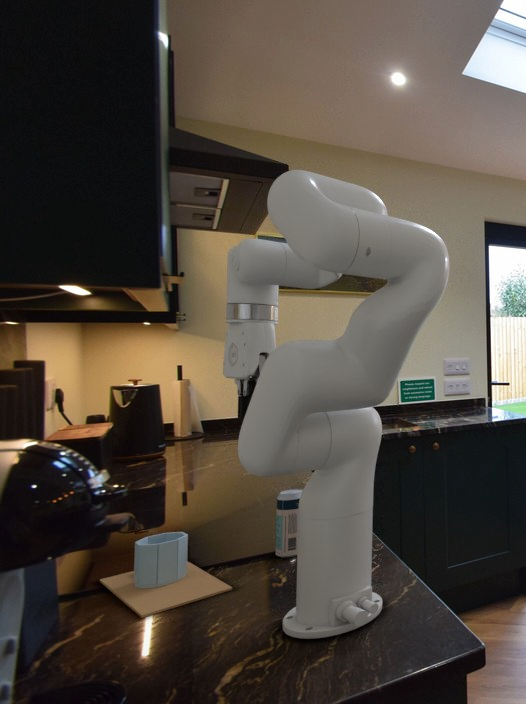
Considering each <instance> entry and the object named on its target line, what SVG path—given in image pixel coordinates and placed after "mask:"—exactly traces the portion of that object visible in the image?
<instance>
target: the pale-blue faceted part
mask: <svg viewBox="0 0 526 704" xmlns="http://www.w3.org/2000/svg"><path fill="white" fill-rule="evenodd" d="M188 543H189V534H188V533H186V532H184V531H176V532H175V531H172V532H171V531H170V532H162V533H158V534H153V535H148V536H145V537H143V538H141V539H139V540H136V541H135V542H134V560H133V561H134V563H133V571H134V583H135V586H136V587H137V588H154V587H160V586H164V585H168V584H171V583H174V582H176V581H179V580H181V579H182V578H184V577H185V574H186V573H187V561H188V549H189V548H188V546H189V544H188Z"/></svg>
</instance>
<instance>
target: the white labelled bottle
mask: <svg viewBox="0 0 526 704" xmlns="http://www.w3.org/2000/svg"><path fill="white" fill-rule="evenodd" d="M303 489H304V488H292V489H286V490H282V491H280V492H279V493H278V495H277V497H276V520H275V521H276V523H275V555H276V556H277V557H280V558H282V559H283V558H284V559H285V558H287V559H288V558H293V557H297V546H298V509H299V500H300V497H301V494H302V491H303Z"/></svg>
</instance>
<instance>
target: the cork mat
mask: <svg viewBox="0 0 526 704" xmlns="http://www.w3.org/2000/svg"><path fill="white" fill-rule="evenodd" d="M99 583H101V584H102V585H103V586H104V587H105V588H106V589H107V590H109V591H110V592H111V593H112V594H113V595H114V596H115V597H117V599H119V600H120V601H121V602H122V603H123V604H125V605H126V606H127V607H129V609H131V610H132V611H133V612H134V613H136V615H138V616H139V617H140V618H141V619H143V618H147V617H149V616H152V615H155V614H159V613H162V612H165V611H168V610H173V609H175V608H178V607H181V606H185V605H189V604H191V603H194V602H198V601H201V600H205V599H207V598H211V597H213V596H217V595H221V594H224V593H226V592H229V591H232V590H233V587H232V586H231V585H229V584H228V583H226V582H224V581H222V580H221V579H218V578H217V577H215V576H214V575H212V574H210V573H209V572H207V571H205V570H203V569H202V568H200V567H198V566H197V565H195V564H193V563H192V562H190V561H188V560H187V573H186V574H185V577H184V578H182V579H181V580H179V581H176V582H174V583H171V584H168V585H164V586H160V587H154V588H137V587H136V586H135V583H134V570H132V571H128V572H124V573H120V574H117V575H112V576H108V577H103V578H100V579H99Z"/></svg>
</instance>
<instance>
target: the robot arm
mask: <svg viewBox="0 0 526 704" xmlns="http://www.w3.org/2000/svg"><path fill="white" fill-rule="evenodd" d="M266 200H267V201H266V202H267V203H266V208H267V213H268V216H269V219H270V220H271V223H272V225H273V226H274V227H275V229H276V230H277V232H278V233H279V234H280V235H281V236H282V237H283V238H284V239H285V241H286V242H281V241H275V240H270V239H269V240H268V239H262V238H250V237H249V238H245V239H242V240H241V241H240V242H239V243H238V244H237V245H234V246H232V247H230V248H229V249H228V252H227V261H226V301H225V302H226V305H225V306H226V307H225V323H226V324H228V325H227V328H226V334H225V339H224V340H225V342H224V351H223V363H222V375H223V377H224V378H227V379H233V380H234V384H235V385H236V388H237V390H236V391H237V419H241V420H243V421H242V424H241V426H240V430H239V433H238V440H237V456H238V460H239V463H240V465H241V466H242V469H244V471H246V472H247V473H249V474H250V475H252V476H255V477H261V478H271V477H272V478H273V477H280V476H281V477H282V476H287V475H294V474H299V473H304V472H305V473H306V472H312V471H313V473H312V474H311V476H310V478H308V481H307V482H306V484H305V485H304V488H302V489H303V491H302V494H301V497H300V500H299V509H298V546H297V556H296V593H295V594H296V597H295V606H294V607H293V608H292V609H290V610H289V611H288V612H287V613H286V614H285V615H284V617H283V618H282V631H283V632H284V634H285V635H287V636H288V637H289V636H290V637H292V638H295V639H303V640H315V639H322V638H329V637H335V636H339V635H343V634H345V633H348V632H351V631H354V630H356V629H359V628H360V627H361V628H362V627H363V626H365V625H367V624H368V623H370V622H372V621H373V620H374V619H376V618H377V617H378V616H379V615H380V613H381V611H382V609H383V598H382V596H381V595H380V594H378V593H376V592H373V586H372V575H373V574H372V572H373V571H372V568H373V566H372V565H373V563H372V562H373V518H374V517H373V516H374V512H373V511H374V489H375V488H374V487H375V484H374V483H375V475H376V474H375V472H376V464H377V460H378V456H379V455H378V454H379V451H380V446H381V442H382V435H383V434H382V433H383V424H382V418H381V417H380V414H379V412H378V411H377V410H376V409H375V407H376V406H379V405H381V404H383V403H384V402H385V401H386V400H387V399H388V397H389V396H390V394H391V392H392V391H393V389H394V387H395V385H396V383H397V381H398V378H399V377H400V374H401V372H402V370H403V368H404V366H405V364H406V361H407V360H408V357H409V356H410V353H411V351H412V349H413V346H414V344H415V341H416V339H417V337H418V336H419V334H420V332H421V330H422V328H423V327H424V326H425V324H426V323H427V322H428V320H429V318H430V317H431V315H432V314H433V312H434V311H435V310H436V308H437V307H438V305H439V303H440V301H441V300H442V299H443V296H444V294H445V292H446V289H447V287H448V286H447V285H448V282H449V277H450V266H451V265H450V255H449V251H448V247H447V245H446V243H445V242H444V240H443V239H442V237H441V236H439V234H438V233H436V232H434V230H432V229H431V228H428V227H426V226H424V225H422V224H419V223H416V222H414V221H411V220H407V219H403V218H399V217H395V216H392V215H389V214H388V213H389V212H388V209H387V207H386V205H385V203H384V202H383V200H382V199H381V198H380V197H379V196H378V195H377V194H376V193H375V192H373V191H372V190H370V189H368V188H366V187H363V186H361V185H358V184H356V183H352V182H349V181H344V180H341V179H337V178H334V177H330V176H326V175H323V174H319V173H316V172H312V171H309V170H304V169H292V170H288V171H285V172H284V173H282V174H281V175H279V176H277V177H276V178H275V180H274V181H273V182H272V184H271V186H270V188H269V191H268V194H267V199H266ZM343 275H350V276H356V277H364V278H370V279H371V278H372V279H378V280H386V281H387V282H386V284H385V285H383V286H382V287H380V288H379V289H377V290H375V291H374V292H373V293H371V294H370V295H368V296H367V297H366V298H364V300H363V301H362V302H360V304H359V305H357V306H356V308H355V309H354V310H353V311H352V313H351V316H350V318H349V321H348V323H347V326H346V328H345V330H344V332H343V334H342V335H341V336H340V337H338V338H336V339H332V340H331V339H330V340H321V339H319V340H317V339H316V340H315V339H301V340H300V339H299V340H291V341H287V342H284V343H282V344H280V345H278V346H277V341H276V340H277V339H276V329H275V328H276V326H277V325H279V292H280V291H279V289H280V287H290V288H298V289H299V288H300V289H307V290H313V289H321V288H324V287H327V286H329V285H331V284H333V283H336V282H337V281H338V280H340V278H341V277H342V276H343Z"/></svg>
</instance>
